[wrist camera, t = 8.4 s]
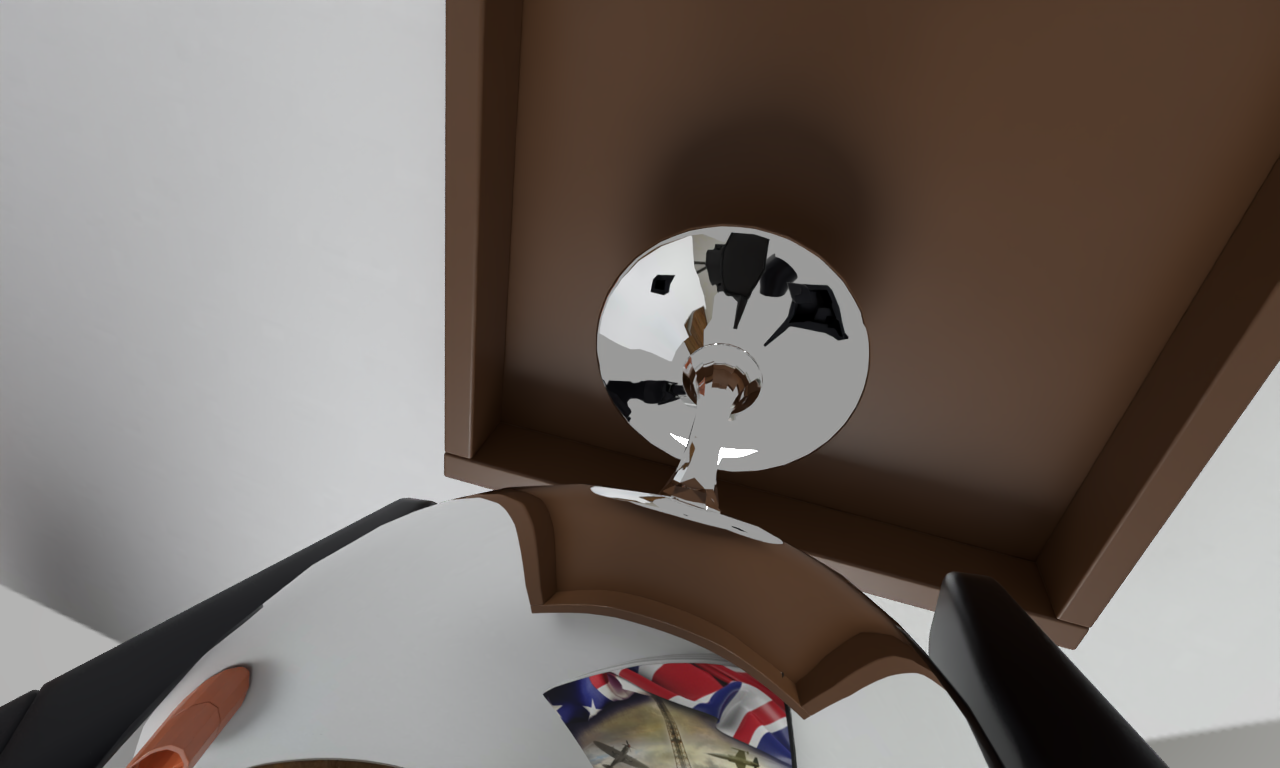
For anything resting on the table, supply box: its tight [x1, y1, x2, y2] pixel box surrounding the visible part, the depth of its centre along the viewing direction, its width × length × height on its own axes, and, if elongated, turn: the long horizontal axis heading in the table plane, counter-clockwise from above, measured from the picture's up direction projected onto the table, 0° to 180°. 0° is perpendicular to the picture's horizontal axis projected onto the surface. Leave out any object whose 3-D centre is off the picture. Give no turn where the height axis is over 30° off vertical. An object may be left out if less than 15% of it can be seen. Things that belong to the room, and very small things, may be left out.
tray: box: [444, 0, 1280, 650], centre depth 11 cm, size 13×12×2 cm
